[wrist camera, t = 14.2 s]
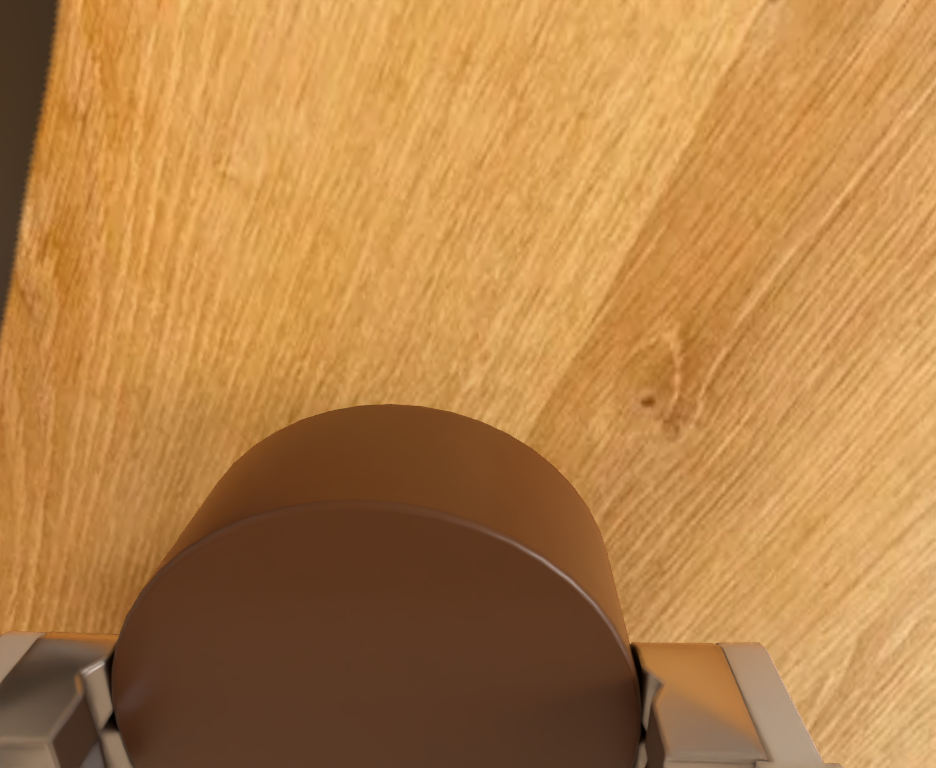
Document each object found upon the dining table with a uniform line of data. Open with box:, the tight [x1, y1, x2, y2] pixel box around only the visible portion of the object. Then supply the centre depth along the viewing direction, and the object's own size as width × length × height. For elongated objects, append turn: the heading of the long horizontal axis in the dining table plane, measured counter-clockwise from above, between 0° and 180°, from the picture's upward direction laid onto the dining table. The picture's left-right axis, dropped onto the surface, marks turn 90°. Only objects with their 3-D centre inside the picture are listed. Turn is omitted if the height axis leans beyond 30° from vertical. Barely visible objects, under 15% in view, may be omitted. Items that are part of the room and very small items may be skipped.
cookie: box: [112, 404, 642, 768], centre depth 9 cm, size 6×6×2 cm
